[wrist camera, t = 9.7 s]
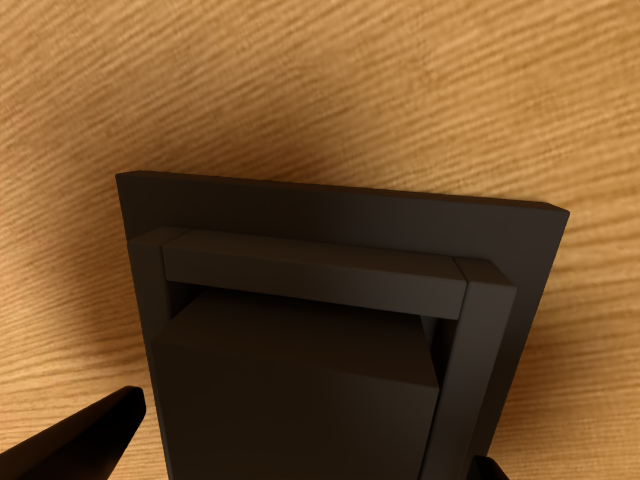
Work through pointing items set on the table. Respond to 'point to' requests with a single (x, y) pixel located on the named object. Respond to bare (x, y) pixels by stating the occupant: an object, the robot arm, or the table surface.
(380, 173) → the table surface
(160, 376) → the black square block
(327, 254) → the dock pad
